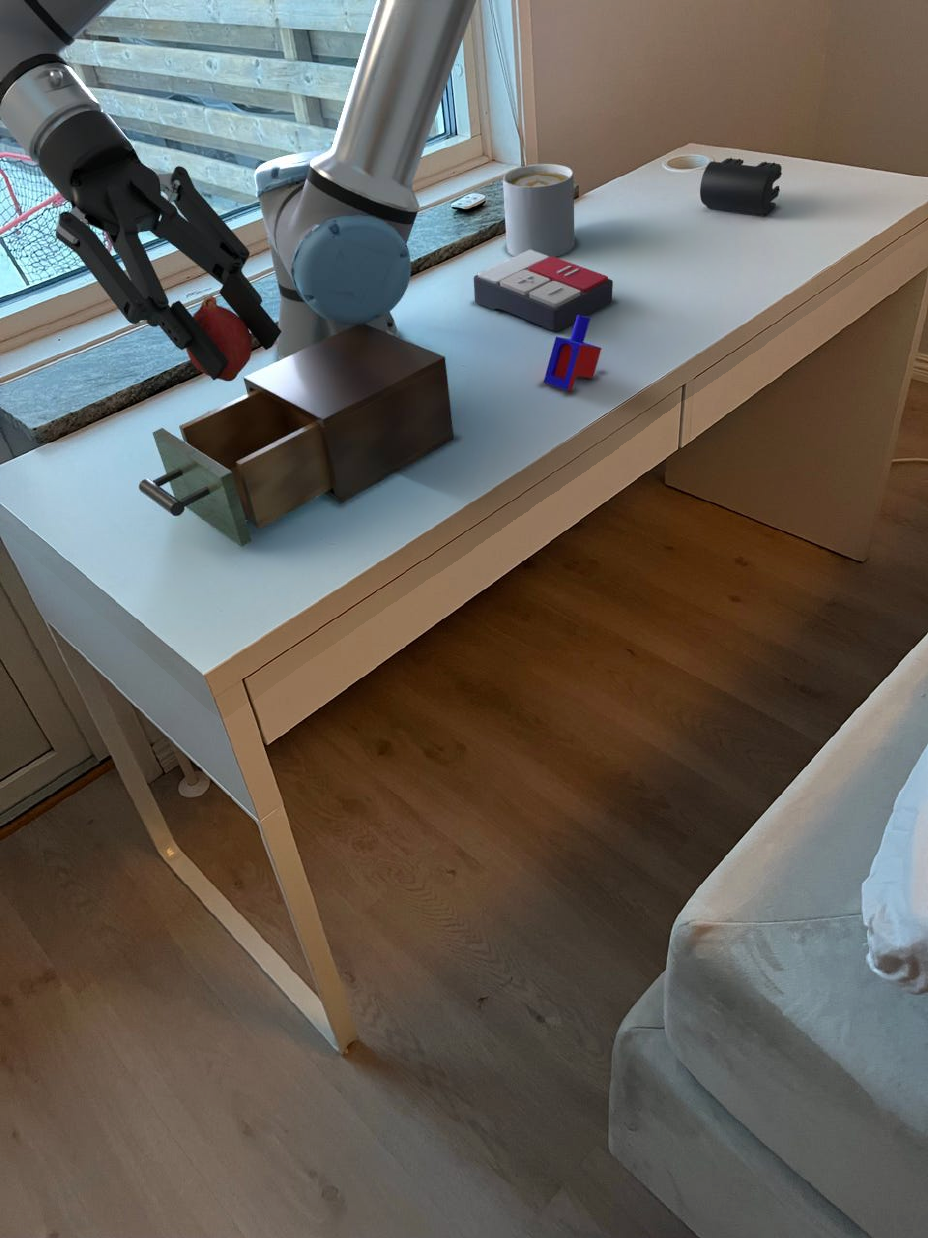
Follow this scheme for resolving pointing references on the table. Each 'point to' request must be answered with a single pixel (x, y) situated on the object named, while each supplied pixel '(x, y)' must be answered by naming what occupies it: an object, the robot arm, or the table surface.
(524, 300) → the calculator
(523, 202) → the coffee mug
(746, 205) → the end cap
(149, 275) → the robot arm
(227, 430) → the drawer
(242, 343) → the onion
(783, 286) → the table surface
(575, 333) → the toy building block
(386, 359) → the cabinet
